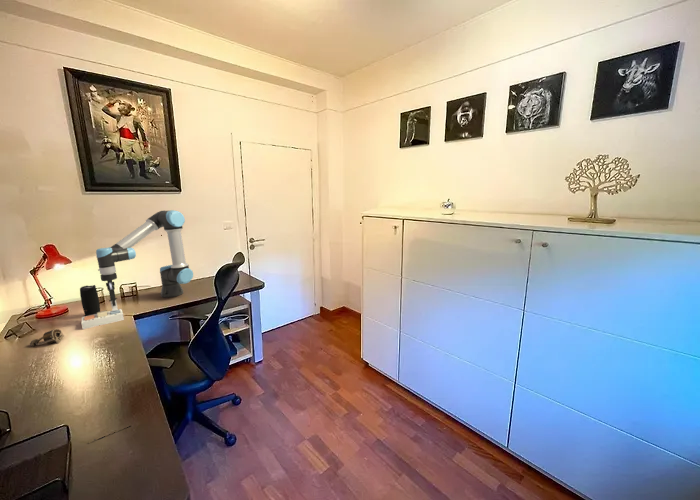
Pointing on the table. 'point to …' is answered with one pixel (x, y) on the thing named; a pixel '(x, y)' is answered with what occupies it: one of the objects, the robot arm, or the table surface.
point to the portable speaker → (89, 300)
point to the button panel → (102, 319)
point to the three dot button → (89, 317)
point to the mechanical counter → (49, 337)
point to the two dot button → (102, 313)
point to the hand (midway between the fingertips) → (115, 310)
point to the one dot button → (114, 312)
